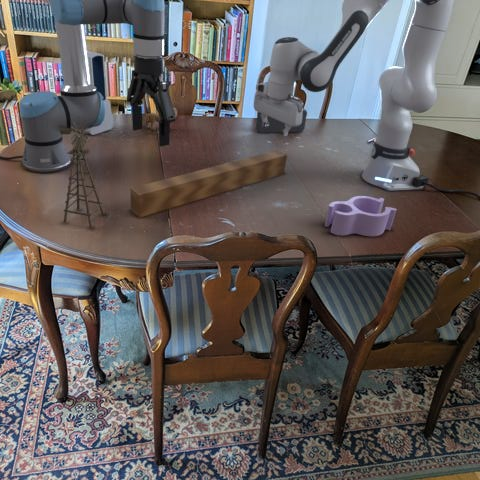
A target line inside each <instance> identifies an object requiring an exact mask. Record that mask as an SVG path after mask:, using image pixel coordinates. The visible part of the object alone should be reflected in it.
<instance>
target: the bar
mask: <svg viewBox="0 0 480 480" xmlns="http://www.w3.org/2000/svg"><path fill="white" fill-rule="evenodd" d="M287 157H288V154H286V153H284V152H282V151H280V150H278V149H276V150H273V151H268V152H265V153H261V154H257V155H253V156H249V157H245V158H242V159H238V160H235V161H230V162H227V163H222V164H218V165H215V166H211V167H207V168H203V169H200V170H199V169H198V170H195V171H193V172H192V171H191V172H188V173H184V174H180V175H177V176H173V177H168V178H164V179H161V180H157V181H154V182H149V183H145V184H141V185H138V186H134V187H133V186H132V187H131V188H129V191H130V193H129V194H130V211H131V212H132V213H134V214H135V215H136V216H137V217H139V218H143V217H146V216H150V215H153V214H157V213H159V212H163V211H167V210H170V209H173V208H176V207H179V206H183V205H186V204H189V203H192V202H193V203H194V202H195V201H199V200H202V199H206V198H208V197H213V196H216V195H219V194H221V193H224V192H225V193H226V192H228V191H232V190H235V189H238V188H242V187H245V186H248V185H251V184H252V185H253V184H254V183H257V182H261V181H265V180H267V179H271V178H275V177H277V176H281V175H284V174H285V171H286V164H287V163H286V162H287Z"/></svg>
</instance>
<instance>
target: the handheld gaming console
mask: <svg viewBox="0 0 480 480" xmlns="http://www.w3.org/2000/svg"><path fill="white" fill-rule="evenodd" d="M307 115H308V112H307V110H306V109H305V108H303V116H302V123H301V124H300V125H299V126H296V127H291V129H290V130H289V131H288V133H300V132H303V131H304V130H305V127H306V119H307ZM267 120H268V122H269V126H268V127H263V126H262V124H263V121H262V118H261V113H260V112H258V111H257V113H256V121H255V122H256V123H255V130H256V132H257V133H261V134H266V133H267V134H269V133H282V130H284V129H285V128H286V127H285V123H283V122H281V121H278V120H276V119H274V118H271V117H269V116H267Z"/></svg>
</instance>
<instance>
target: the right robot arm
mask: <svg viewBox="0 0 480 480" xmlns="http://www.w3.org/2000/svg"><path fill="white" fill-rule="evenodd" d="M389 1H390V0H343V2H342V4H341V5H342V6H341V13H342V14H341V15H342V19H341V24H340V26H339V29H338V30H337V32H336V33H335V34H334V36H333V37H332V38H331V40H330V42H328V44H327V45H326V47H325V48H324V49H323V50H322V52H318V51H317V50H315V49H313V48H310V47H309V46H307V45H305V44H304V43H303V42H302V41H301V40H300V39H299V38H297V37H295V36H285V37H280V38H278V39H277V40H276V41H275V42H274V44H273V46H272V50H271V54H270V61H269V75H268V78H267V81H266V82H261V83H257V84H256V85H255V92H254V98H253V109H254V111H255V112H257V113H258V112H260V113H261V118H262V121H263V124H262V126H263V127H268V126H269V122H268V120H267V116H269V117H271V118H274V119H276V120H278V121H281V122H283V123H285V127H286V128H285V129H284V130H282V132H280V133H281V136H283V137H287V136H288V135H289V132H288V131H289V130H290V129H291V127H296V126H299V125H300V124H301V123H302V116H303V109H304V103H303V101H302V100H301V98H300V97H299V96H296V95H294V92H295V86H296V81H300V82H301V84H302V86H303V88H304V89H305V90H307V91H309V92H311V93H321V92H322V91H323V92H324V91H325V90H326V89H328V88H329V87H330V85H331V84H332V83H333V81H334V79H335V76H336V73H337V71H338V68H339V67H340V65H341V63H342V62H343V61H344V60H345V58H346V57H347V55H348V54H349V53H350V52H351V50H352V49H353V48H354V46H355V45H356V43H358V41H359V39H360V38H361V37H362V36H363V34H364V32H365V31H366V30H367V28H368V27H369V26H370V25H371V23H372V21H374V19H375V18H376V17H377V16H378V15H379V13H380V12H381V11H382V10H383V9H384V8H385V6H386V5H387V4H388V3H389ZM454 2H455V0H414V5H415V6H414V13H413V15H412V17H411V20H410V24H409V27H408V29H407V33H406V36H405V39H404V42H403V45H402V49H401V50H402V55H403V67H401V66H391V67H388V68H386V69H385V70H383V72H382V73H381V74H380V76H379V78H378V88H379V92H380V119H379V125H378V128H377V132H376V137H375V138H376V139H375V140H374V141H373V143H372V146H371V151H370V156H369V159H368V161H367V164H366V166H365V169H364V170H363V172H362V173H361V177H362V179H363V180H364V181H365V182H366V183H369V184H371V185H373V186H376V187H379V188H381V189H384V190H385V191H388V192H393V191H410V190H412V191H413V190H423V189H424V186H428V187H430V188H432V189H435V190H437V191H438V192H442V193H449V194H450V193H459V194H468V195H472V196H473V197H476V198H477V199H478V200H479V201H480V194H478V193H477V192H475V191H471V190H464V189H463V190H462V189H445V188H440V187H439V186H436V185H434V184H432V183H430V182H429V177H428V176H427V175H424V174H422V175H421V172H420V167H419V166H418V165H417V163H416V162H415V161H414V160H413V158H412V157H414V156H415V155H416V150H414V148H411V147H410V146H409V141H410V137H411V134H412V130H413V124H414V123H413V120H412V116H411V112H412V113H417V114H422V113H425V112H427V111H429V110H430V109H431V108H432V107H433V106H434V104H435V103H436V101H437V99H438V90H437V87H436V82H435V76H436V74H435V73H436V64H437V58H438V55H439V52H440V50H441V46H442V43H443V40H444V38H445V35H446V32H447V29H448V26H449V24H450V20H451V18H452V12H453V8H454ZM410 156H411V157H410Z"/></svg>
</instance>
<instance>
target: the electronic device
mask: <svg viewBox="0 0 480 480" xmlns="http://www.w3.org/2000/svg"><path fill="white" fill-rule="evenodd" d="M87 52H88V61H89V69H90V78H91V83H92V84H93V85H94V86H95V87H96V89H97V92H99V93H101V95H102V96H103V98H104V99H103V101H104V102H105V108H106V112H105V118H104V121H103V122H102V124H101V125H99V126H96V127H92V128H90V129H86V130H85V131H83V132H88V131H89V132H88V134H87V135H91V136H94V135H98V134H101V133H104V132H106V131H110V130H112V129H113V126H114V121H113V120H114V119H113V113H112V112H113V111H112V106H111V100H109V99H108V96H107V95H108V94H107V80H106V64H105V55H104V54H102V53H100V52H99V53H98V52H95V51H91V50H87ZM83 130H84V129H83ZM80 131H81V129H80Z"/></svg>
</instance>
